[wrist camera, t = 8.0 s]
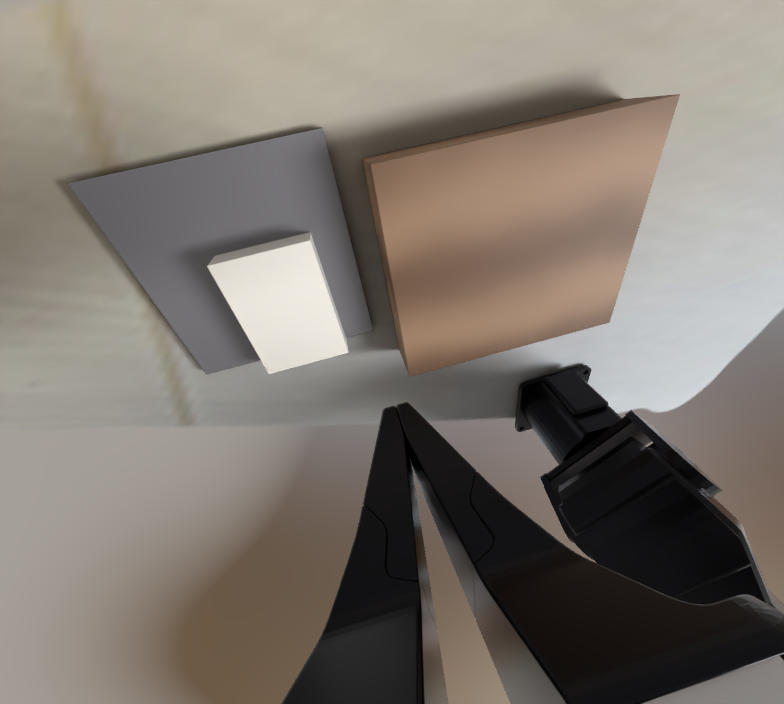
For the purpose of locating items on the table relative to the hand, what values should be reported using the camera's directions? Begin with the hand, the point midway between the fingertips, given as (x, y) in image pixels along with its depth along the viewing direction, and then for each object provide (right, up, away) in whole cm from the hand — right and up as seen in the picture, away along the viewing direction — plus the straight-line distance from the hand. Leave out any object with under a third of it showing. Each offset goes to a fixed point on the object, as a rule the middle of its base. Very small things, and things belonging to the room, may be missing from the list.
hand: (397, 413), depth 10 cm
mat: (-8, +7, +7) cm, 12 cm away
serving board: (+6, +9, +9) cm, 14 cm away
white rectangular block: (-6, +4, +7) cm, 10 cm away
